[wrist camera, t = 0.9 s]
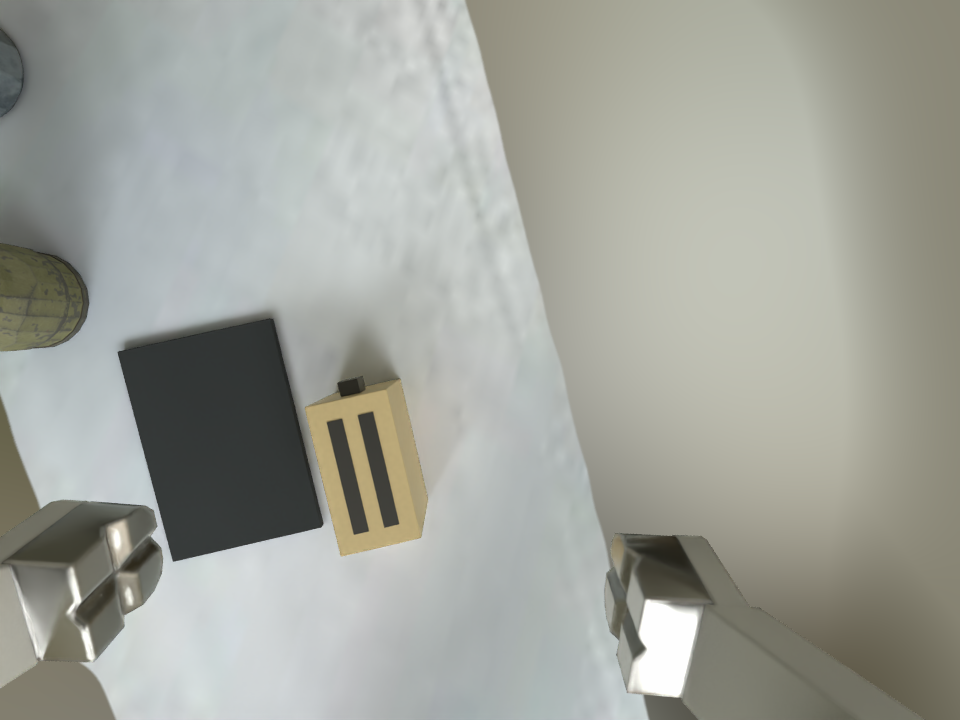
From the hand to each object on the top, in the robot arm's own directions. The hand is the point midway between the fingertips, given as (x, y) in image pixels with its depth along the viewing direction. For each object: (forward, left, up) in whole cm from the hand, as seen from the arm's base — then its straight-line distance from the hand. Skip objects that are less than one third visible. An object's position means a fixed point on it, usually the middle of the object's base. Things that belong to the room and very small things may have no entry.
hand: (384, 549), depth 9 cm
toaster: (-5, +7, -38) cm, 39 cm away
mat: (-1, +21, -38) cm, 44 cm away
